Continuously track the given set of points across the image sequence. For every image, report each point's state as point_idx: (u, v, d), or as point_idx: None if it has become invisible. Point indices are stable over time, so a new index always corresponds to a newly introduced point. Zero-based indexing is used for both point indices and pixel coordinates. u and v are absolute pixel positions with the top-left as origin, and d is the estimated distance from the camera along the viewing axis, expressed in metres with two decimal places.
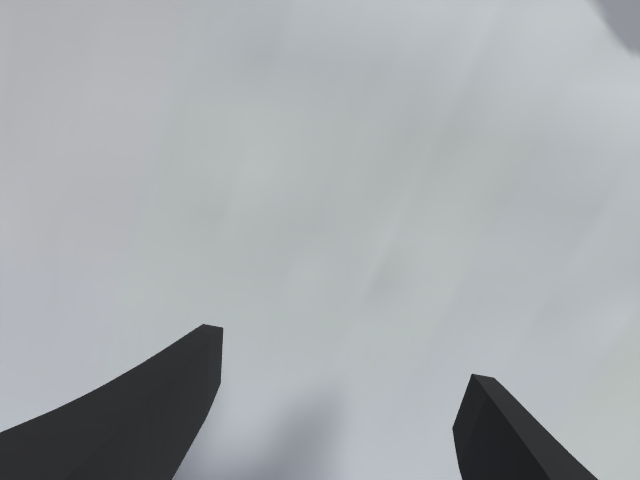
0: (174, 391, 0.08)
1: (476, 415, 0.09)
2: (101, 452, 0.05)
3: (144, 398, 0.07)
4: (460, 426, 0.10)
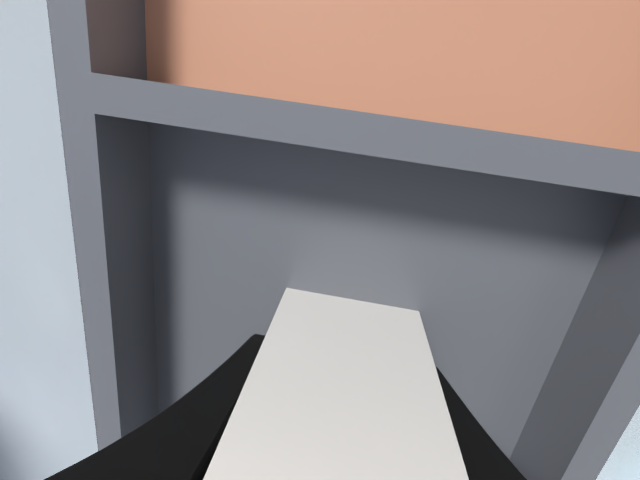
0: None
1: None
2: (196, 472, 0.05)
3: (222, 414, 0.07)
4: None
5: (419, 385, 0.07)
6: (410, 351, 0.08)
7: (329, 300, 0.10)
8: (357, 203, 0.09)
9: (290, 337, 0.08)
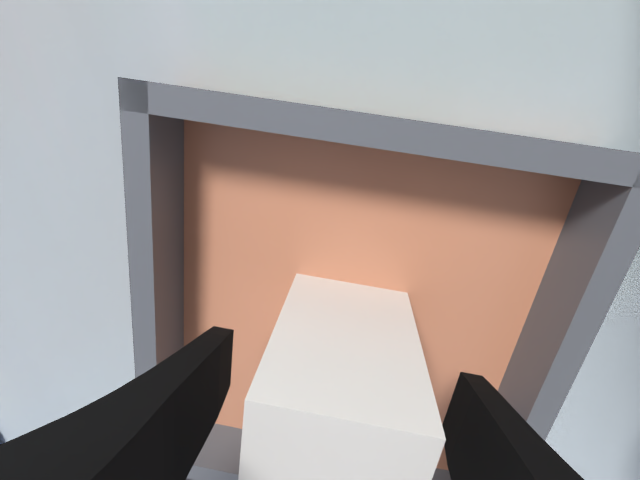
0: (188, 394, 0.08)
1: (464, 413, 0.09)
2: (120, 456, 0.05)
3: (160, 401, 0.07)
4: (449, 424, 0.10)
5: (404, 345, 0.09)
6: (398, 321, 0.11)
7: (332, 283, 0.12)
8: None
9: (302, 310, 0.10)
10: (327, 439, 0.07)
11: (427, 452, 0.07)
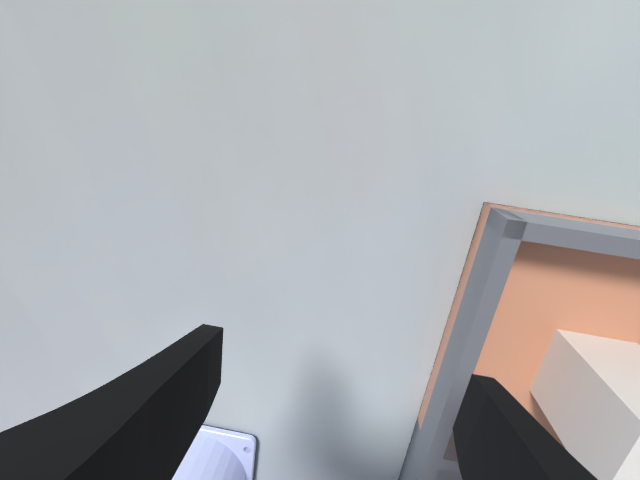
0: (174, 391, 0.08)
1: (476, 415, 0.09)
2: (101, 452, 0.05)
3: (144, 398, 0.07)
4: (460, 426, 0.10)
5: None
6: None
7: (586, 337, 0.18)
8: None
9: (597, 361, 0.16)
10: None
11: None
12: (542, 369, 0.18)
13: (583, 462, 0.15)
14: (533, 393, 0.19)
